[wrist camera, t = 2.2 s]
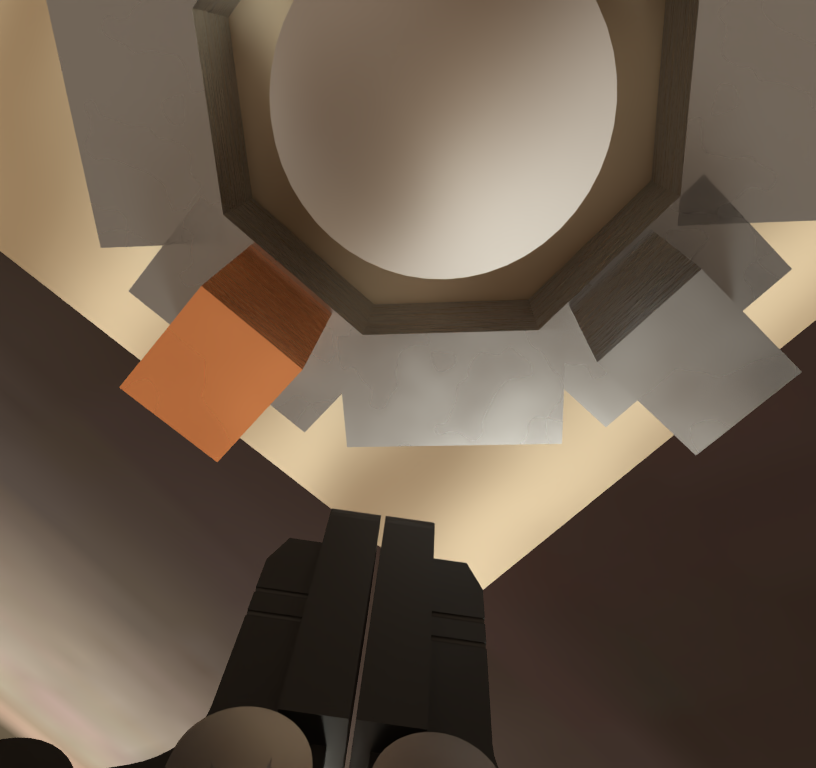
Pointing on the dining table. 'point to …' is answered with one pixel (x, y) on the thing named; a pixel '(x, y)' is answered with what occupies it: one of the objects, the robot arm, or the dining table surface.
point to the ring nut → (447, 321)
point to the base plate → (319, 458)
